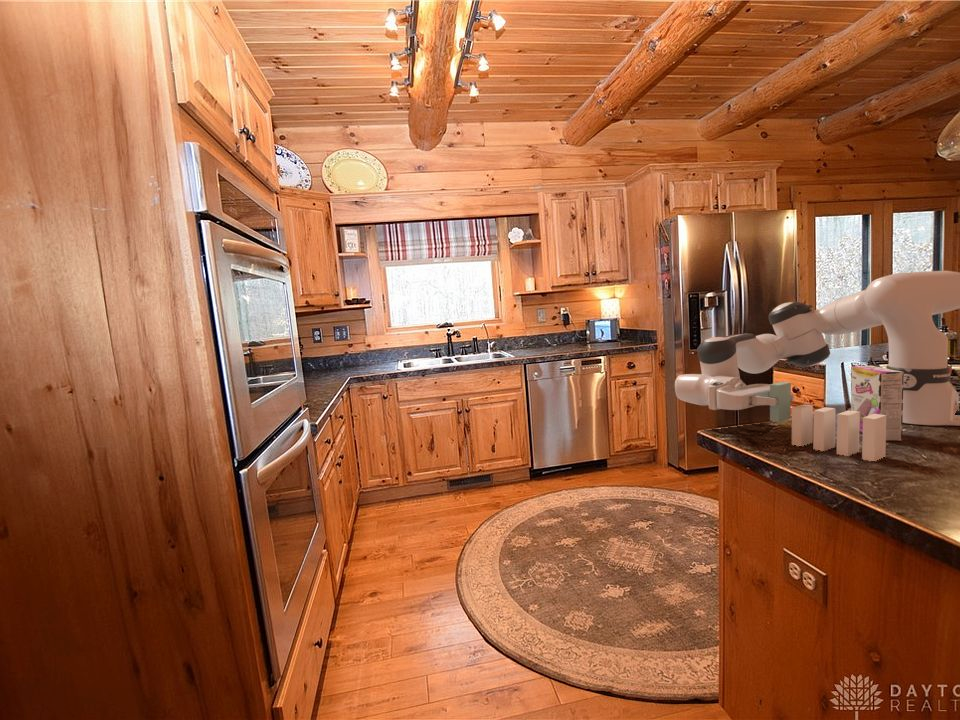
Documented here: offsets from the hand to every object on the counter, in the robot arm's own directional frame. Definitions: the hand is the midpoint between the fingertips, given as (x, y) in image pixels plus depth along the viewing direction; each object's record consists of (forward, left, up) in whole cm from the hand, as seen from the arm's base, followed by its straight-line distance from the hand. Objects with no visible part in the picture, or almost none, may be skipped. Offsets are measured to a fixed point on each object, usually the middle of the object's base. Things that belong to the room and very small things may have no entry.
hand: (784, 400), depth 106 cm
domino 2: (0, +4, -10) cm, 11 cm away
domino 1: (0, -1, -5) cm, 5 cm away
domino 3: (0, +8, -10) cm, 13 cm away
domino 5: (0, +17, -10) cm, 20 cm away
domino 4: (0, +13, -10) cm, 16 cm away
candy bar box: (-19, +10, -10) cm, 24 cm away
